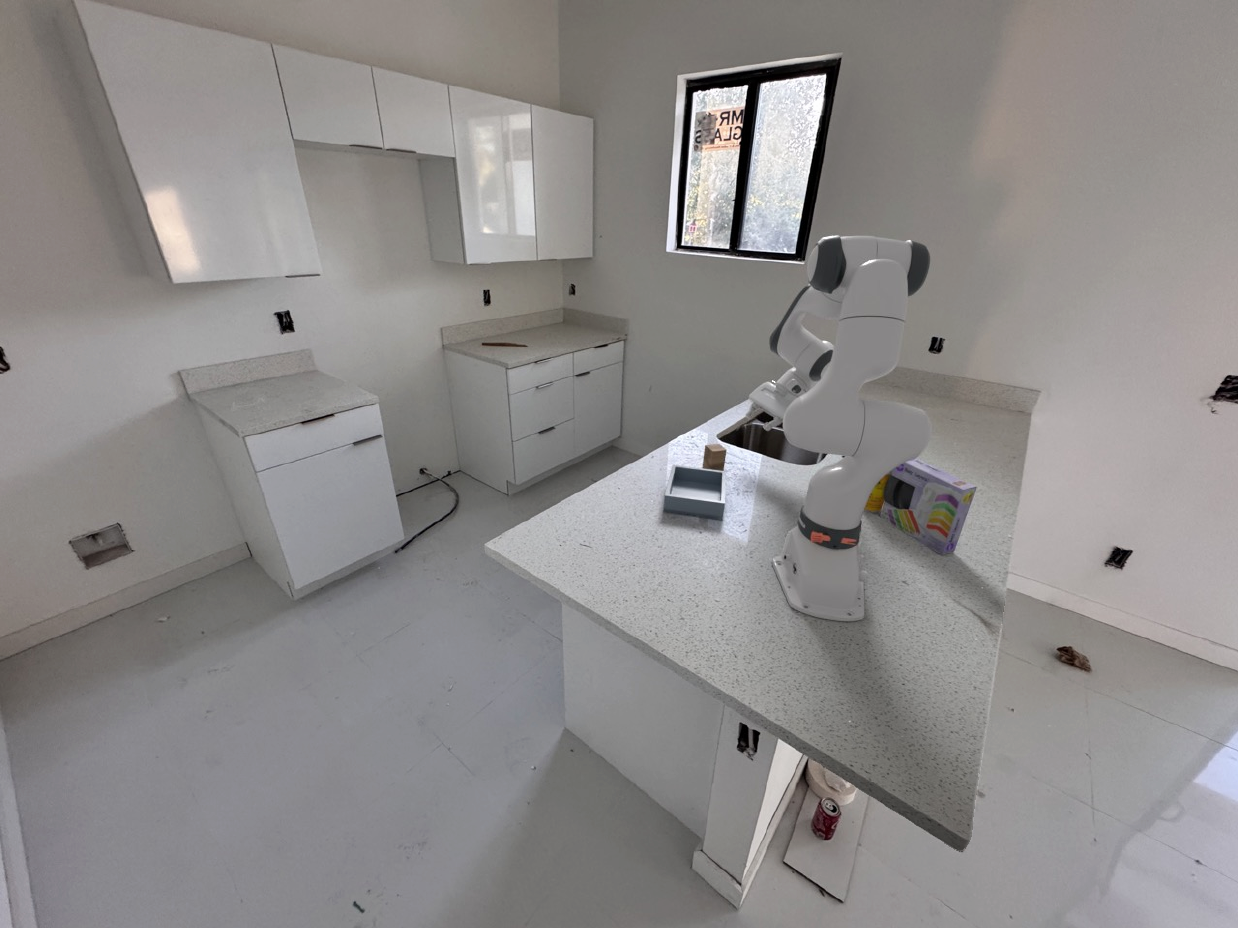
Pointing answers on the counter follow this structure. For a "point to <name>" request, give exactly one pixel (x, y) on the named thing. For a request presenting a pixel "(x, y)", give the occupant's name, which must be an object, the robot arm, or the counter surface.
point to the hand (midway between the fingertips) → (756, 423)
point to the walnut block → (714, 457)
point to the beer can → (877, 495)
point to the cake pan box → (927, 504)
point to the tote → (696, 492)
